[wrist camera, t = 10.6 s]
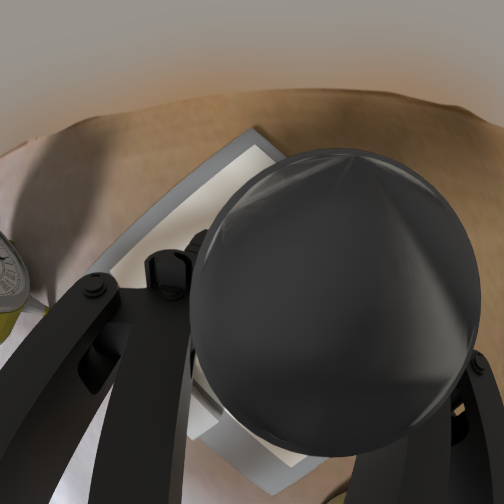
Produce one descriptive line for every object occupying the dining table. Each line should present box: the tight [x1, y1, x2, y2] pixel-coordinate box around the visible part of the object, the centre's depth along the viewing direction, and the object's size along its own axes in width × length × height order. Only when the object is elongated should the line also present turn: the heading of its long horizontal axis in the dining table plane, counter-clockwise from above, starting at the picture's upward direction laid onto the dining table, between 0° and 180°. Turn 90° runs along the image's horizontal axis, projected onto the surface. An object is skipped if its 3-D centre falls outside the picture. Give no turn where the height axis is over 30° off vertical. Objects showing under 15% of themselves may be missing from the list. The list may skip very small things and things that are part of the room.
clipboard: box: [81, 128, 329, 496], centre depth 17 cm, size 22×18×2 cm
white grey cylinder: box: [190, 148, 481, 458], centre depth 9 cm, size 4×4×13 cm
